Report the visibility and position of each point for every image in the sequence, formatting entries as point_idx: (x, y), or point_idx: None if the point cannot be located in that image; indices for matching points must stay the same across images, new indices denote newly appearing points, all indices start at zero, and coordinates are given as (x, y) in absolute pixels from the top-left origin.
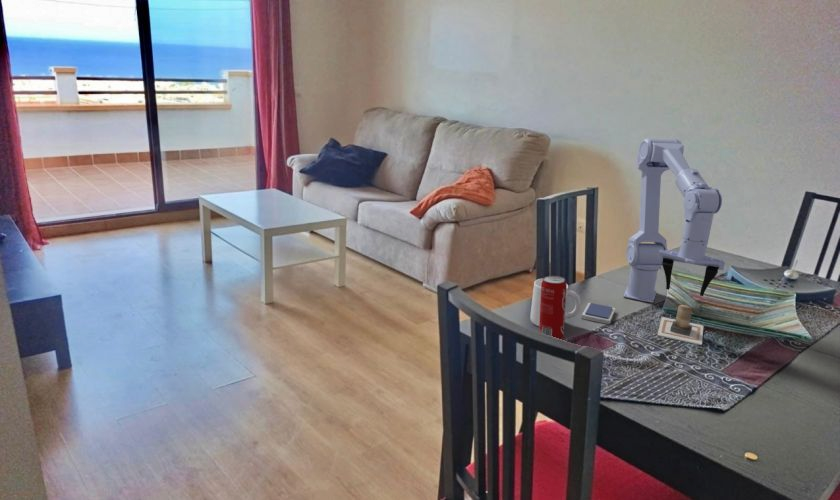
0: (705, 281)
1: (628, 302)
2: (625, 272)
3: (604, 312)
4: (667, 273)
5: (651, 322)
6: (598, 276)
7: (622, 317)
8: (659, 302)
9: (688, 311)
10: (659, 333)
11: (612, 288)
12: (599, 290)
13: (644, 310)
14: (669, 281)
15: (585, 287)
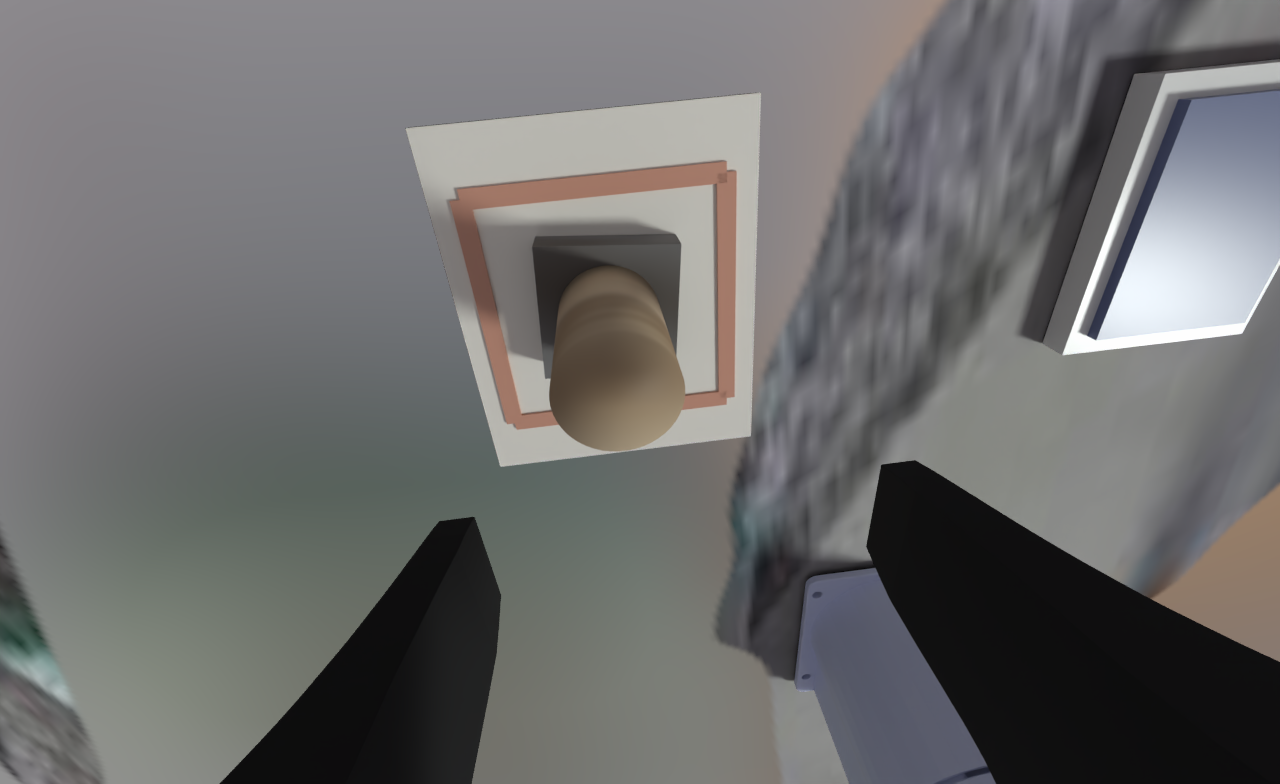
0: (323, 765)
1: None
2: None
3: (1187, 202)
4: (1221, 669)
5: (807, 325)
6: None
7: (1001, 284)
8: (771, 602)
9: (575, 342)
10: (746, 128)
11: None
12: None
13: (850, 471)
14: (992, 541)
15: (1151, 555)
